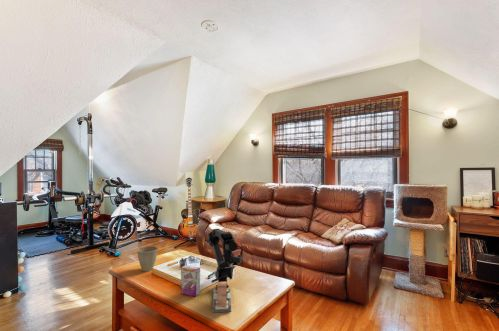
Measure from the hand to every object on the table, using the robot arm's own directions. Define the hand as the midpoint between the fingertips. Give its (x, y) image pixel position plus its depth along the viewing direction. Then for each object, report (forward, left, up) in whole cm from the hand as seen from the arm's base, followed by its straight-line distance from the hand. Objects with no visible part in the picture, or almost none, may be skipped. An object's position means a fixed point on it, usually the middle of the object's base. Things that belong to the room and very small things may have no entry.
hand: (231, 279), depth 156 cm
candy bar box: (-17, -19, -11) cm, 28 cm away
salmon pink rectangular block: (+9, -11, -9) cm, 17 cm away
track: (+3, -8, -10) cm, 13 cm away
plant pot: (-72, -31, -11) cm, 79 cm away
